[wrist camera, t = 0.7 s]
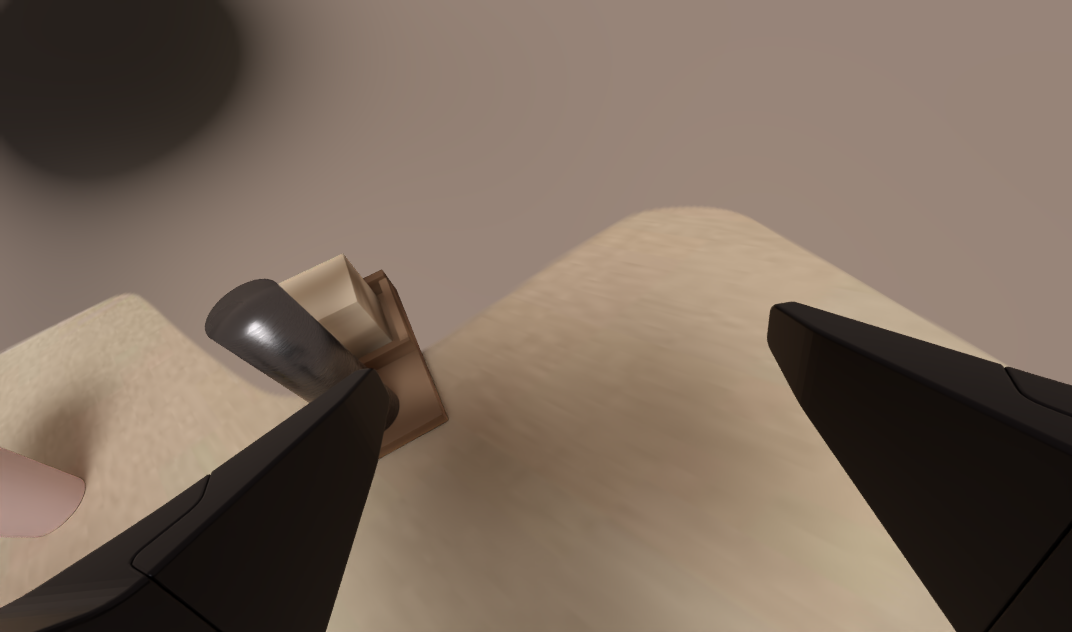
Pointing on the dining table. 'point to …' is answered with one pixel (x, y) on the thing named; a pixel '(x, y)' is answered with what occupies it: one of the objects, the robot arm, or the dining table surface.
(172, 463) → the dining table surface
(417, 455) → the dining table surface
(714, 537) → the dining table surface
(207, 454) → the dining table surface
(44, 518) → the smoothie
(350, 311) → the birch block
